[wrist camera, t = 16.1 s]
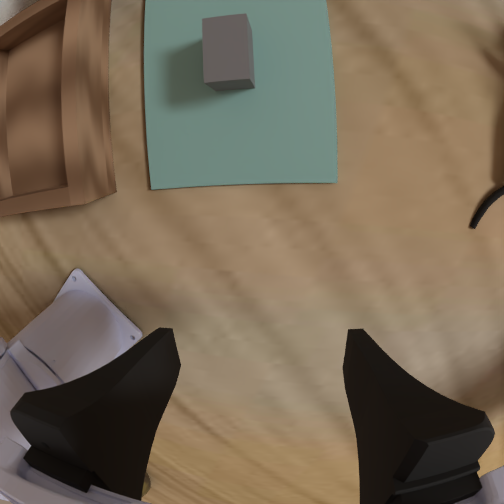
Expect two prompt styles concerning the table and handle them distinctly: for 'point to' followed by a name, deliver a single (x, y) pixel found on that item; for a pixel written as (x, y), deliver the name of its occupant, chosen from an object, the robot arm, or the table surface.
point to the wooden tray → (55, 106)
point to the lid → (239, 92)
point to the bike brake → (486, 206)
